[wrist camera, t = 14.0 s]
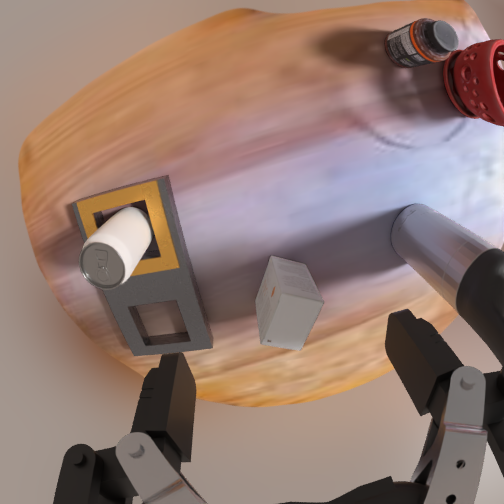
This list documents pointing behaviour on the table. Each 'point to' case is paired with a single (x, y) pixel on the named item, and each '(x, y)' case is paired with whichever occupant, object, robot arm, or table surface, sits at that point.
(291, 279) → the small box
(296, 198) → the table surface
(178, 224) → the grey slotted tray
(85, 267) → the can
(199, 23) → the table surface
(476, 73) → the plant pot
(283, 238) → the table surface
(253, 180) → the table surface
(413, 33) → the supplement bottle
